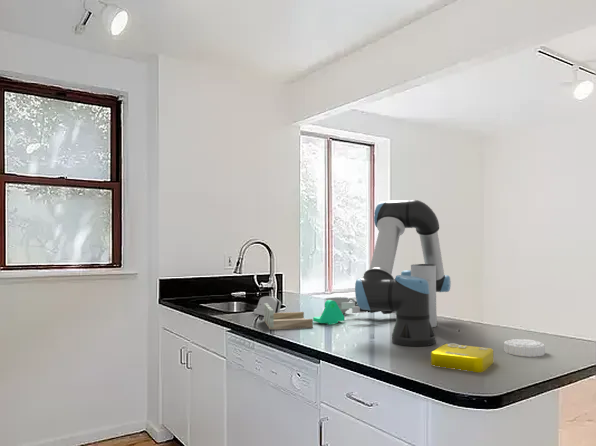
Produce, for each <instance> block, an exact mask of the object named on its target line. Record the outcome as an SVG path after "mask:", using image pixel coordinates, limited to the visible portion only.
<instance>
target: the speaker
mask: <svg viewBox="0 0 596 446" xmlns="http://www.w3.org/2000/svg"><path fill="white" fill-rule="evenodd" d="M410 270H411V276H414V277H419V278H423V279H425V280H427V281H428V284H429V292H430V294H429V307H430V323H431V326H432V328H436V327H437V326H438V325H437V324H438V323H437V322H438V320H437V319H438V318H437V292H436V265H432V264H425V263H417V264H416V263H415V264H410Z"/></svg>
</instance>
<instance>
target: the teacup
mask: <svg viewBox="0 0 596 446" xmlns="http://www.w3.org/2000/svg"><path fill="white" fill-rule="evenodd" d="M325 299H326V301H327V300H332V301H335V302H336V303H337V305H338V307H339V308H340V310H341V312H342V314H343V315H344V314H345V313H346V312H347V311H349V310H350V309H351V308H349V309H342V305H341V303H348V302H351V301H352V302H354V301H355V300H356V299H354V298H353V297H350V298H349V297H345V296H342V297H341V296H339V297H338V296H335V297H326V298H325Z"/></svg>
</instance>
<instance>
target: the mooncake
mask: <svg viewBox="0 0 596 446" xmlns="http://www.w3.org/2000/svg"><path fill="white" fill-rule="evenodd" d="M503 345H504V346H503V348H504V352H505V353H506V354H509V355H514V356H519V357H528V358H529V357H541V356H544V355H546V345H545V344H544V342H543V343H542V342H541V341H538V340H533V339H528V338H513V339H509V340H505V341H504V342H503Z"/></svg>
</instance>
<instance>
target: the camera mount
mask: <svg viewBox="0 0 596 446" xmlns="http://www.w3.org/2000/svg"><path fill="white" fill-rule="evenodd" d="M345 318H346V317H345V316H344V314H342V312H341V310H340V308H339V307H338V305H337V303H336V302H335V301H332V300H327V299H326V301H325V302H324V310H323V311H322V313H321V315H320V316H313V317H312V319H313V322H315V323H319V324H326V325H336V323H338V324H339V322H345V321H346V320H345Z"/></svg>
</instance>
